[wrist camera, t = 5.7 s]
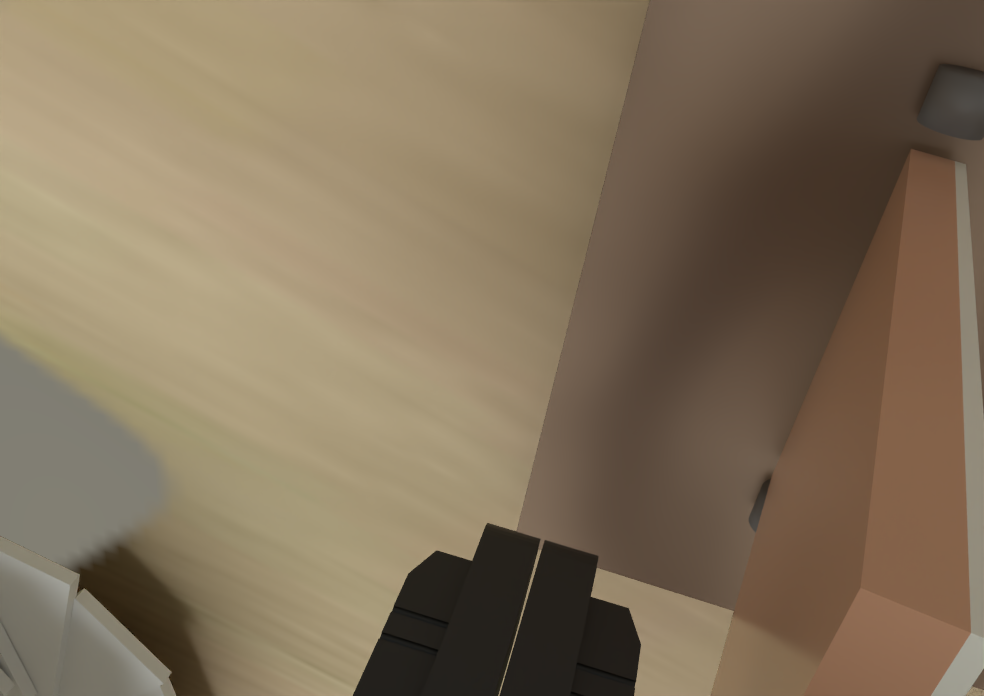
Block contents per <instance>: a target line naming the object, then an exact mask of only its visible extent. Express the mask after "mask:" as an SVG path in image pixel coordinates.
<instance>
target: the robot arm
mask: <svg viewBox="0 0 984 696" xmlns="http://www.w3.org/2000/svg"><path fill="white" fill-rule="evenodd" d="M540 540H541V539H540V538H536V537H533V536H530V535H526V534H523V533H520V532H516V531H513V530H509V529H506V528H503V527H499V526H496V525H493V524H489V523H487V525H486V527H485V529H484V532H483V534H482V537H481V539H480V542H479V545H478V547H477V550H476V553H475V555H474V558H473V561H470V560H467V559H463V558H460V557H457V556H453V555H450V554H447V553H444V552H440V551H435V552H434V553H433V554H432V555H431V556H429V557H428V558H427V559H426V560H424V561H423V562H422V563H421V564H420V565H418V566H417V567H416V568H415V569H413V570H412V571H411V572H410V573H409V574H408V576H407V578H406V580H405V582H404V585H403V587H402V589H401V591H400V593H399V596H398V598H397V600H396V602H395V604H394V607H393V611H392V612H391V613H390V615H389V617H388V620H387V622H386V624H385V626H384V628H383V631H382V634H381V637H380V639H378V642H377V644H376V646H375V648H374V650H373V652H372V655H371V657H370V659H369V661H368V663H367V666H366V668H365V670H364V672H363V674H362V677H361V679H360V681H359V683H358V685H357V688H356V690H355V692H354V694H353V696H498V694H499V691H500V687H501V684H502V681H503V677H504V674H505V670H506V667H507V663H508V660H509V656H510V653H511V649H512V646H513V642H514V638H515V635H516V631H517V627H518V624H519V620H520V616H521V612H522V609H523V605H524V601H525V597H526V593H527V590H528V586H529V582H530V578H531V575H532V571H533V567H534V563H535V559H536V556H537V552H538V548H539V544H540ZM597 563H598V555H594V554H591V553H588V552H584V551H581V550H577V549H574V548H571V547H567V546H564V545H561V544H557V543H554V542H551V541H547V540H545V541H544V544H543V547H542V551H541V554H540V558H539V561H538V565H537V568H536V572H535V575H534V578H533V582H532V585H531V589H530V592H529V596H528V599H527V603H526V606H525V610H524V613H523V617H522V620H521V624H520V627H519V630H518V634H517V637H516V641H515V644H514V648H513V651H512V655H511V658H510V662H509V665H508V669H507V672H506V676H505V679H504V682H503V686H502V689H501V693H500V696H634V692H635V688H634V687H635V682H636V677H637V670H638V662H639V655H640V647H641V644H640V641H639V638H638V635H637V632H636V629H635V626H634V623H633V620H632V617H631V614H630V611H629V608H626V607H623V606H619V605H616V604H613V603H609V602H606V601H603V600H599V599H596V598H593V597H591V592H592V587H593V583H594V578H595V573H596V568H597Z"/></svg>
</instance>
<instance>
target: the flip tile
mask: <svg viewBox="0 0 984 696" xmlns="http://www.w3.org/2000/svg"><path fill="white" fill-rule="evenodd" d="M983 669H984V413H983V399H982V385H981V370H980V356H979V342H978V328H977V313H976V299H975V285H974V271H973V256H972V242H971V228H970V214H969V200H968V185H967V171H966V164H963V163H960V162H956V161H953V160H949V159H946V158H942V157H939V156H935V155H931V154H928V153H924V152H921V151H917V150H914V149H911V150H910V152H909V155H908V157H907V159H906V162H905V164H904V166H903V169H902V171H901V173H900V176H899V178H898V180H897V183H896V185H895V187H894V190H893V192H892V194H891V197H890V199H889V202H888V204H887V206H886V209H885V211H884V213H883V216H882V218H881V220H880V223H879V225H878V227H877V230H876V232H875V234H874V237H873V239H872V242H871V244H870V246H869V249H868V251H867V253H866V256H865V258H864V260H863V263H862V265H861V267H860V270H859V272H858V274H857V277H856V279H855V281H854V284H853V286H852V289H851V291H850V293H849V296H848V298H847V300H846V303H845V305H844V307H843V310H842V312H841V314H840V317H839V319H838V321H837V324H836V326H835V328H834V331H833V333H832V336H831V338H830V340H829V343H828V345H827V347H826V350H825V352H824V354H823V357H822V359H821V361H820V364H819V366H818V368H817V371H816V373H815V375H814V378H813V380H812V383H811V385H810V387H809V390H808V392H807V394H806V397H805V399H804V401H803V404H802V406H801V408H800V411H799V413H798V415H797V418H796V420H795V422H794V425H793V427H792V430H791V432H790V434H789V437H788V439H787V441H786V444H785V446H784V448H783V451H782V453H781V455H780V458H779V460H778V462H777V465H776V467H775V470H774V472H773V474H772V477H771V481H770V484H769V488H768V491H767V495H766V499H765V502H764V506H763V509H762V513H761V517H760V520H759V524H758V527H757V531H756V534H755V538H754V542H753V545H752V549H751V552H750V556H749V560H748V563H747V567H746V570H745V574H744V577H743V581H742V585H741V588H740V592H739V595H738V599H737V602H736V606H735V610H734V613H733V617H732V620H731V624H730V628H729V631H728V635H727V638H726V642H725V645H724V649H723V653H722V656H721V660H720V663H719V667H718V671H717V674H716V678H715V681H714V685H713V688H712V692H711V696H966V694H967V693H968V691H969V690H970V688H971V687H972V685H973V684H974V682H975V681H976V679H977V678H978V676H979V675H980V673H981V672H982V670H983Z"/></svg>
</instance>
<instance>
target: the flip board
mask: <svg viewBox="0 0 984 696" xmlns="http://www.w3.org/2000/svg"><path fill="white" fill-rule="evenodd" d="M911 149H914V150H917V151H921V152H924V153H928V154H931V155H935V156H939V157H942V158H946V159H949V160H953V161H956V162H960V163H963V164H966V171H967V185H968V200H969V214H970V228H971V242H972V256H973V271H974V285H975V299H976V313H977V328H978V342H979V356H980V370H981V385H982V399H983V413H984V0H650V2H649V6H648V10H647V14H646V18H645V22H644V26H643V30H642V34H641V38H640V42H639V46H638V50H637V54H636V58H635V62H634V66H633V70H632V74H631V78H630V82H629V86H628V90H627V94H626V98H625V102H624V106H623V110H622V114H621V118H620V122H619V126H618V130H617V133H616V137H615V141H614V145H613V149H612V153H611V157H610V161H609V165H608V169H607V173H606V177H605V181H604V185H603V189H602V193H601V197H600V201H599V205H598V209H597V213H596V217H595V221H594V225H593V229H592V233H591V237H590V241H589V245H588V249H587V253H586V257H585V261H584V265H583V269H582V273H581V277H580V281H579V285H578V289H577V293H576V297H575V301H574V305H573V309H572V313H571V317H570V321H569V325H568V329H567V333H566V337H565V341H564V345H563V349H562V352H561V356H560V360H559V364H558V368H557V372H556V376H555V380H554V384H553V388H552V392H551V396H550V400H549V404H548V408H547V412H546V416H545V420H544V424H543V428H542V432H541V436H540V440H539V444H538V448H537V452H536V456H535V460H534V464H533V468H532V472H531V476H530V480H529V484H528V488H527V492H526V496H525V500H524V504H523V508H522V512H521V516H520V520H519V524H518V528H517V532H520V533H523V534H526V535H530V536H533V537H536V538H540V539H541V540H540V544H539V548H538V549H540V550H542V547H543V544H544V541H545V540H547V541H551V542H554V543H557V544H561V545H564V546H567V547H571V548H574V549H577V550H581V551H584V552H588V553H591V554H594V555H598V563H597V568H600V569H603V570H606V571H609V572H612V573H616V574H619V575H622V576H625V577H628V578H631V579H635V580H638V581H641V582H644V583H647V584H650V585H654V586H657V587H660V588H663V589H666V590H669V591H673V592H676V593H679V594H682V595H685V596H688V597H692V598H695V599H698V600H701V601H704V602H707V603H711V604H714V605H717V606H720V607H723V608H726V609H729V610H733V611H734V610H735V606H736V602H737V599H738V595H739V592H740V588H741V585H742V581H743V577H744V574H745V570H746V567H747V563H748V560H749V556H750V552H751V549H752V545H753V542H754V538H755V534H756V531H757V527H758V524H759V520H760V517H761V513H762V509H763V506H764V502H765V499H766V495H767V491H768V488H769V484H770V481H771V477H772V474H773V472H774V470H775V467H776V465H777V462H778V460H779V458H780V455H781V453H782V451H783V448H784V446H785V444H786V441H787V439H788V437H789V434H790V432H791V430H792V427H793V425H794V422H795V420H796V418H797V415H798V413H799V411H800V408H801V406H802V404H803V401H804V399H805V397H806V394H807V392H808V390H809V387H810V385H811V383H812V380H813V378H814V375H815V373H816V371H817V368H818V366H819V364H820V361H821V359H822V357H823V354H824V352H825V350H826V347H827V345H828V343H829V340H830V338H831V336H832V333H833V331H834V328H835V326H836V324H837V321H838V319H839V317H840V314H841V312H842V310H843V307H844V305H845V303H846V300H847V298H848V296H849V293H850V291H851V289H852V286H853V284H854V281H855V279H856V277H857V274H858V272H859V270H860V267H861V265H862V263H863V260H864V258H865V256H866V253H867V251H868V249H869V246H870V244H871V242H872V239H873V237H874V234H875V232H876V230H877V227H878V225H879V223H880V220H881V218H882V216H883V213H884V211H885V209H886V206H887V204H888V202H889V199H890V197H891V194H892V192H893V190H894V187H895V185H896V183H897V180H898V178H899V176H900V173H901V171H902V169H903V166H904V164H905V162H906V159H907V157H908V155H909V152H910V150H911ZM972 686H973V687H976V688H979V689H983V690H984V669H983V670H982V672H981V673H980V675H979V676H978V678H977V679H976V681H975V682H974V684H973V685H972Z"/></svg>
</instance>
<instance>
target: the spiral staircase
mask: <svg viewBox="0 0 984 696" xmlns="http://www.w3.org/2000/svg"><path fill="white" fill-rule="evenodd" d="M79 578H80V574H78V573H76V572H74V571H71V570H69V569H67V568H65V567H63V566H61V565H59V564H57V563H55V562H53V561H51V560H49V559H47V558H44V557H43V556H40V555H38V554H36V553H34V552H32V551H30V550H28V549H26V548H24V547H22V546H20V545H18V544H15V543H14V542H12V541H10V540H7V539H5V538H3V537H1V536H0V696H176V693H175V691H174V689H173V686H172V684H171V682H170V679H169V676H170V674H171V673H172V672H171V671H170V670H169V669H168V668H167V667H166V666H165V665H164V664H163V663H162V662H161V661H160V660H158V659H157V658H156V657H155V656H154V655H153V654H152V653H151V652H150V651H149V650H148V649H147V648H146V647H145V646H144V645H143V644H142V643H141V642H140V641H139V640H138V639H137V638H136V637H135V636H134V635H133V634H132V633H131V632H130V631H129V630H127V629H126V628H125V627H124V626H123V625H122V624H121V623H120V622H119V621H118V620H117V619H116V618H115V617H114V616H113V615H112V614H111V613H110V612H109V611H108V610H107V609H106V608H105V607H104V606H103V605H102V604H101V603H100V602H99V601H98V600H96V599H95V598H94V597H93V596H92V595H91V594H90V593H89V592H88V591H87V590H86V589H85V588H84V589H83V590H81V591H79V592H78V593H77V590H78V584H79Z"/></svg>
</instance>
